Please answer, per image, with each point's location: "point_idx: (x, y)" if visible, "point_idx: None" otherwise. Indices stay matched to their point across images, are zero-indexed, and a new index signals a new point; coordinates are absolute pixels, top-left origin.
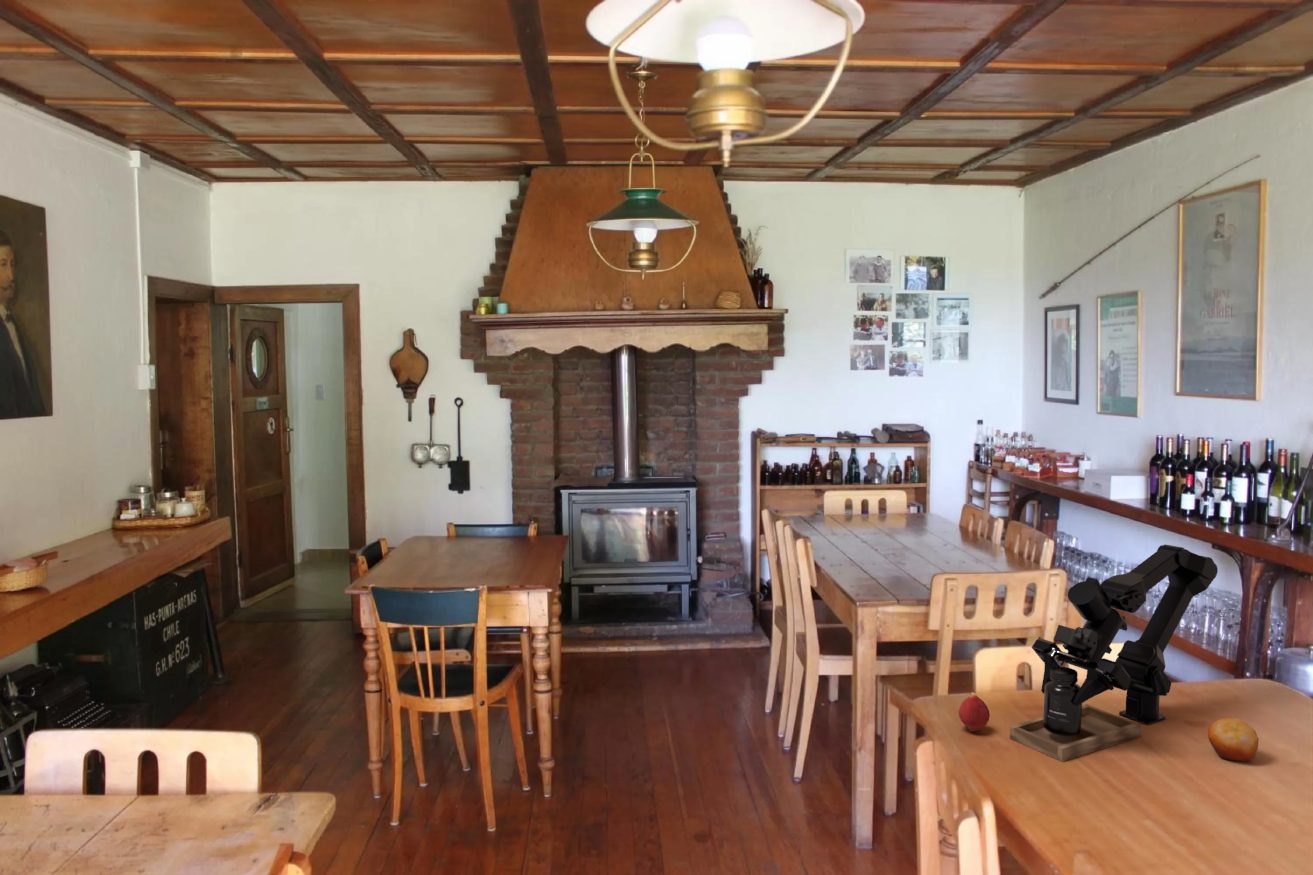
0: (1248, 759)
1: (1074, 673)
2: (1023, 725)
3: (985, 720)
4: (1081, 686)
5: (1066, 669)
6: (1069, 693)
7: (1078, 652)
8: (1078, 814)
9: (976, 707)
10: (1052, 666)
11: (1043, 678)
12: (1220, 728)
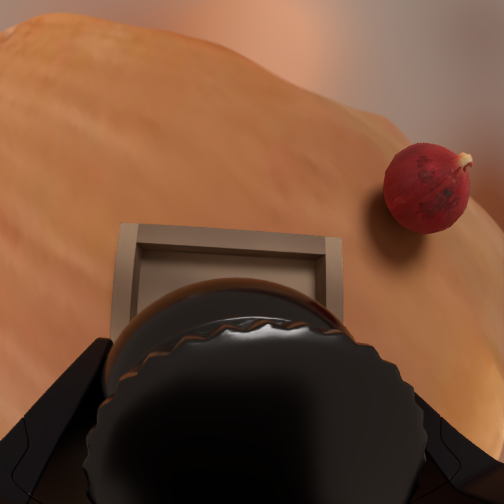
0: None
1: None
2: (325, 283)
3: (387, 185)
4: (57, 437)
5: None
6: (118, 339)
7: None
8: (23, 80)
9: (420, 150)
10: (448, 499)
11: (418, 397)
12: None
